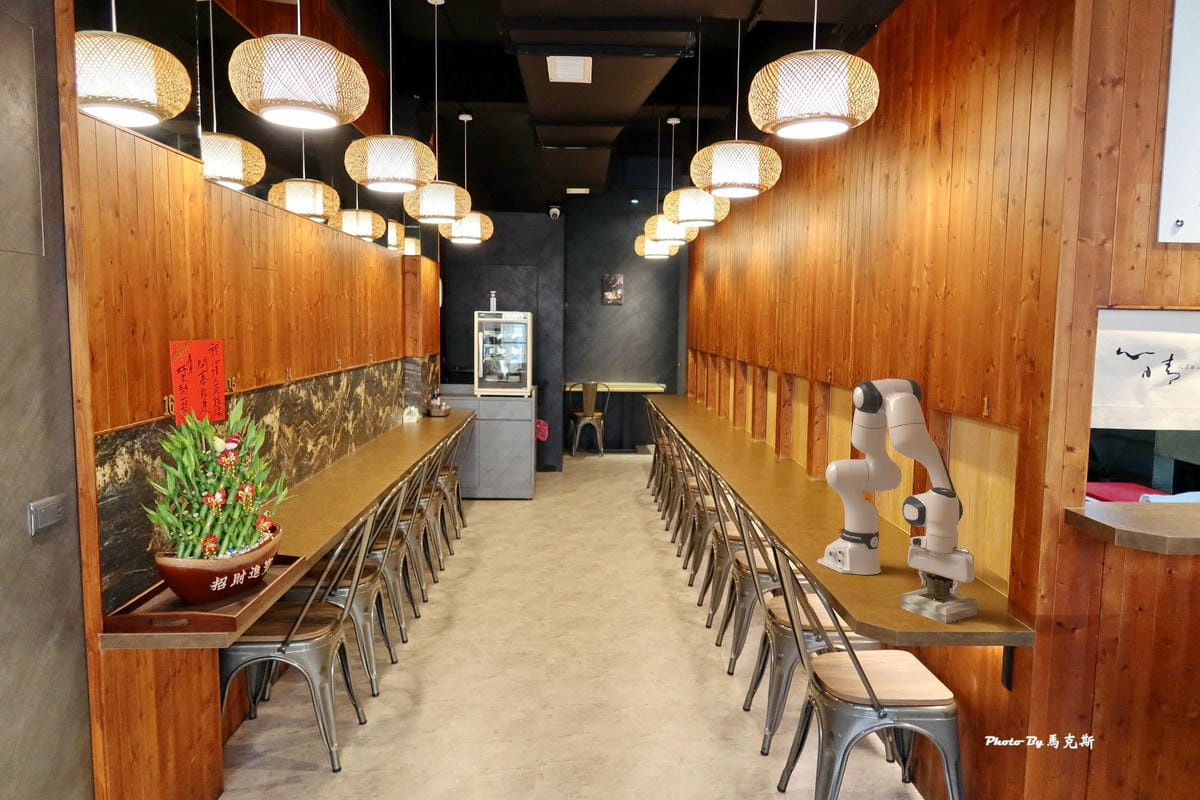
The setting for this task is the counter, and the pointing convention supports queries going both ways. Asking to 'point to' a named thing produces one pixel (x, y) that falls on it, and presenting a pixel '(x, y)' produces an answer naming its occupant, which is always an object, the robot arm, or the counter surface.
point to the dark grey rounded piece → (939, 587)
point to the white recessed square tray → (939, 606)
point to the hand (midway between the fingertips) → (939, 589)
